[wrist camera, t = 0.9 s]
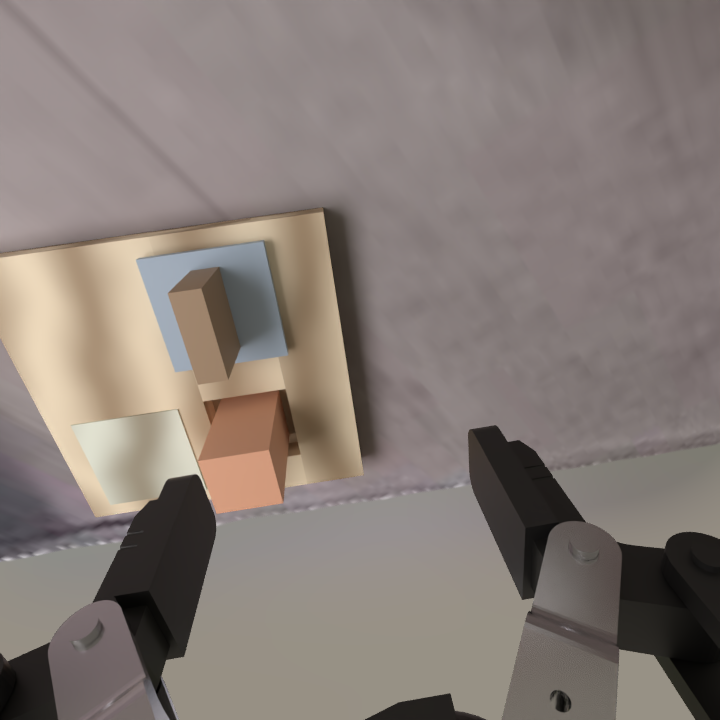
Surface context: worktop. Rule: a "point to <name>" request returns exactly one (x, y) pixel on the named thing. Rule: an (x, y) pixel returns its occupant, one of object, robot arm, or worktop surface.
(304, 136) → the worktop surface
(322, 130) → the worktop surface
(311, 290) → the board
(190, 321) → the lid
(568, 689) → the robot arm
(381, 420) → the worktop surface
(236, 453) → the block
